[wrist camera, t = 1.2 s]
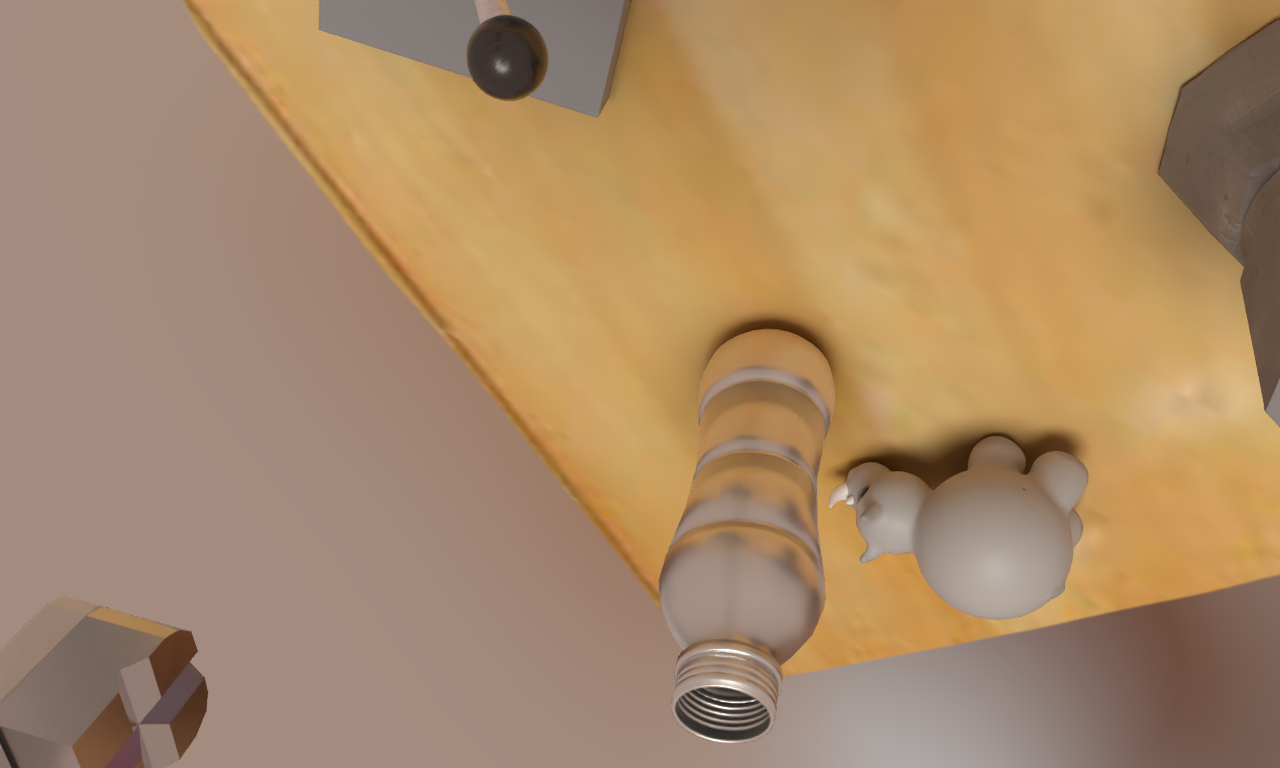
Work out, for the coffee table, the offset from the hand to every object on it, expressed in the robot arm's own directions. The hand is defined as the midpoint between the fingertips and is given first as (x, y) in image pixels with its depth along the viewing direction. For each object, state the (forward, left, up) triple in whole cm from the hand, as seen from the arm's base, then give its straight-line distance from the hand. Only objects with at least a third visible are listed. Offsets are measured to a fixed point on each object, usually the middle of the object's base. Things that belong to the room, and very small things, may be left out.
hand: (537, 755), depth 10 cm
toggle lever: (+3, -11, -31) cm, 33 cm away
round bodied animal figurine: (+23, +17, -34) cm, 44 cm away
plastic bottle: (+20, +6, -34) cm, 40 cm away
